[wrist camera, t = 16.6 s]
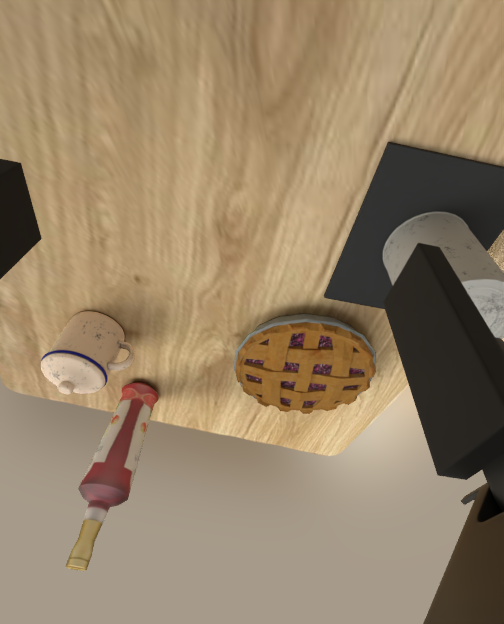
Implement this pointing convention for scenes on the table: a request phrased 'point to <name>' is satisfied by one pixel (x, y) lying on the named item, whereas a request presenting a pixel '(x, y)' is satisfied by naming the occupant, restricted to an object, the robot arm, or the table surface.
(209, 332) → the table surface
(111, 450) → the liquor
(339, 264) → the back mat
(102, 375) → the teacup with lid
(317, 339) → the pie
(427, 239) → the tin can
